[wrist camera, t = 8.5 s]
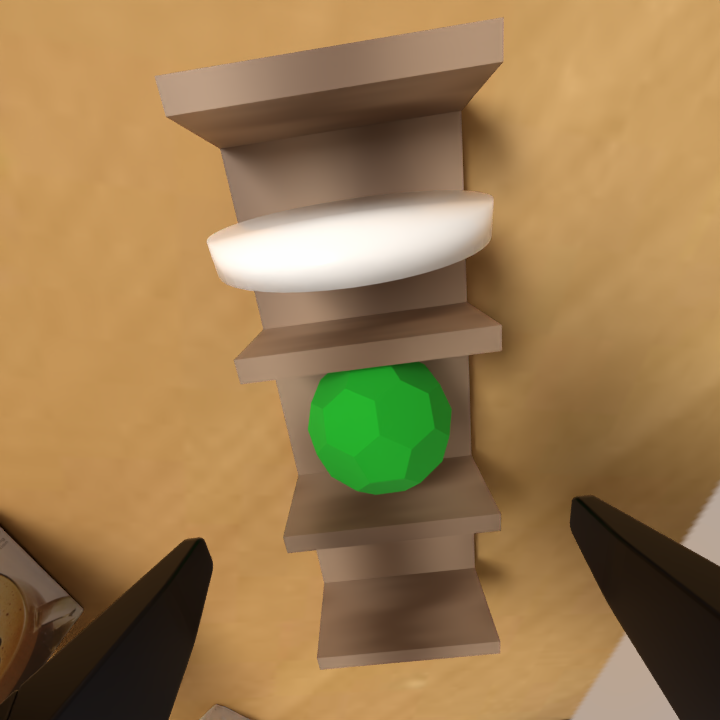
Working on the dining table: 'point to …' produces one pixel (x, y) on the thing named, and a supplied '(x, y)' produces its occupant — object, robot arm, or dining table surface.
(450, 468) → the rack
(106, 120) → the dining table surface
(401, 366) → the polyhedron
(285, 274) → the saucer
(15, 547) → the coffee box
